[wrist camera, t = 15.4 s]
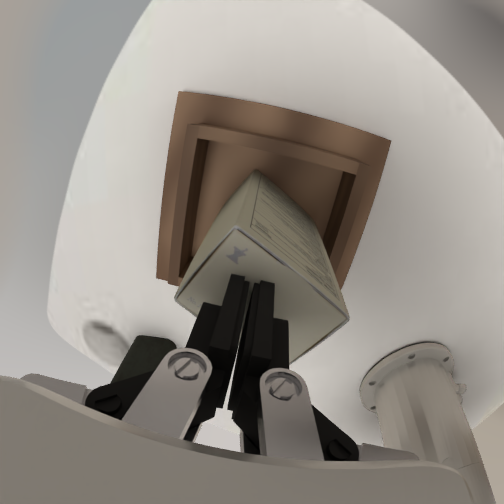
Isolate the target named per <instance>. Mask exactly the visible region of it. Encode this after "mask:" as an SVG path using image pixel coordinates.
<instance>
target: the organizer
mask: <svg viewBox="0 0 504 504" xmlns="http://www.w3.org/2000/svg"><path fill="white" fill-rule="evenodd" d="M390 144H391V141H390V140H388V139H385V138H382V137H380V136H377V135H374V134H371V133H368V132H365V131H362V130H359V129H356V128H353V127H350V126H347V125H344V124H340V123H337V122H334V121H330V120H327V119H323V118H320V117H316V116H312V115H309V114H305V113H301V112H297V111H293V110H288V109H284V108H280V107H275V106H271V105H266V104H261V103H256V102H251V101H245V100H240V99H234V98H228V97H221V96H214V95H207V94H199V93H191V92H182V91H179V92H178V97H177V103H176V108H175V113H174V119H173V125H172V131H171V137H170V144H169V150H168V157H167V164H166V172H165V180H164V188H163V197H162V207H161V217H160V228H159V241H158V255H157V273H156V278H158V279H162V280H166V281H168V284H171V285H175V286H180V284H181V282H182V280H183V278H184V276H185V274H186V272H187V270H188V268H189V266H190V264H191V262H192V260H193V258H194V256H195V255H196V253H197V251H198V249H199V247H200V245H201V243H202V241H203V240H204V238H205V236H206V234H207V232H208V230H209V229H210V227H211V225H212V223H213V222H214V220H215V218H216V216H217V215H218V213H219V211H220V209H221V208H222V206H223V205H224V204H225V203H226V201H227V200H228V199H229V198H230V196H231V195H232V194H233V193H234V192H235V191H236V189H237V188H238V187H239V186H240V185H241V184H242V183H243V181H244V180H245V179H246V178H247V177H248V176H249V175H250V174H251V173H252V172H253V171H254V170H255V169H256V170H258V171H259V172H261V173H262V174H263V175H264V176H265V177H267V178H268V179H269V180H270V181H272V182H273V183H274V184H275V185H276V186H278V187H279V188H280V189H281V190H282V191H283V192H284V193H285V194H287V195H288V196H289V197H290V198H291V199H292V200H293V201H294V202H296V203H297V204H298V205H299V206H300V207H301V208H302V209H303V210H304V211H305V212H306V213H307V214H308V215H309V216H310V217H311V218H312V219H313V220H314V221H315V224H316V226H317V229H318V232H319V234H320V237H321V239H322V242H323V244H324V247H325V250H326V252H327V255H328V257H329V260H330V263H331V266H332V268H333V271H334V274H335V277H336V279H337V282H338V285H339V288H340V290H341V289H342V286H343V284H344V281H345V279H346V276H347V274H348V271H349V269H350V266H351V263H352V261H353V258H354V256H355V253H356V250H357V247H358V245H359V242H360V239H361V236H362V234H363V231H364V228H365V225H366V222H367V219H368V216H369V213H370V210H371V207H372V204H373V201H374V198H375V195H376V192H377V189H378V185H379V182H380V179H381V175H382V172H383V169H384V165H385V162H386V158H387V155H388V151H389V147H390Z"/></svg>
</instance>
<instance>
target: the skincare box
mask: <svg viewBox="0 0 504 504" xmlns="http://www.w3.org/2000/svg"><path fill="white" fill-rule="evenodd" d="M231 273H232V274H236V275H240V276H245V281H250V284H249V290H248V295H247V301H246V306H245V312H244V317H243V323H242V328H241V333H242V329H243V326H244V322H245V318H246V314H247V310H248V306H249V302H250V298H251V294H252V290H253V286H254V283H259V284H260V281H261V280H263V281H267V282H272V283H275V295H274V318H279V319H284V320H288V323H289V365H290V364H292V363H293V362H294V361H296V360H297V359H299V358H300V357H302V356H303V355H305V354H306V353H308V352H309V351H310V350H312V349H313V348H315V347H316V346H317V345H319V344H320V343H321V342H323V341H324V340H325V339H327V338H328V337H329V336H331V335H332V334H333V333H334V332H336V331H337V330H338V329H340V328H341V327H342V326H343V325H345V324H346V323H347V322H348V321H349V313H348V310H347V308H346V305H345V302H344V299H343V296H342V293H341V290H340V288H339V285H338V282H337V279H336V277H335V274H334V271H333V268H332V266H331V263H330V260H329V257H328V255H327V252H326V250H325V247H324V244H323V242H322V239H321V237H320V234H319V232H318V229H317V226H316V224H315V221H314V220H313V219H312V218H311V217H310V216H309V215H308V214H307V213H306V212H305V211H304V210H303V209H302V208H301V207H300V206H299V205H298V204H297V203H296V202H294V201H293V200H292V199H291V198H290V197H289V196H288V195H287V194H285V193H284V192H283V191H282V190H281V189H280V188H279V187H278V186H276V185H275V184H274V183H273V182H272V181H270V180H269V179H268V178H267V177H265V176H264V175H263V174H262V173H261V172H259V171H258V170H256V169H255V170H254V171H253V172H252V173H251V174H250V175H249V176H248V177H247V178H246V179H245V180H244V181H243V183H242V184H241V185H240V186H239V187H238V188H237V189H236V191H235V192H234V193H233V194H232V195H231V196H230V198H229V199H228V200H227V201H226V203H225V204H224V205H223V206H222V208H221V209H220V211H219V213H218V215H217V216H216V218H215V220H214V222H213V223H212V225H211V227H210V229H209V230H208V232H207V234H206V236H205V238H204V240H203V241H202V243H201V245H200V247H199V249H198V251H197V253H196V255H195V256H194V258H193V260H192V262H191V264H190V266H189V268H188V270H187V272H186V274H185V276H184V278H183V280H182V282H181V284H180V286H179V288H178V290H177V292H176V294H175V297H174V299H175V301H176V302H177V303H178V304H179V305H181V306H182V307H184V308H185V309H186V310H187V311H189V312H190V313H191V314H193V315H194V316H195V317H197V316H198V314H199V311H200V309H201V306H202V304H203V302H207V303H211V304H215V305H219V306H222V302H223V299H224V296H225V292H226V289H227V286H228V283H229V279H230V276H231ZM240 338H241V334H240ZM239 342H240V339H239ZM238 345H239V344H238Z"/></svg>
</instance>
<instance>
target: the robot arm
mask: <svg viewBox="0 0 504 504" xmlns="http://www.w3.org/2000/svg"><path fill="white" fill-rule="evenodd" d="M249 284H250V281H245V276H240V275H236V274H232V273H231V276H230V279H229V283H228V286H227V289H226V292H225V296H224V299H223V302H222V306H219V305H215V304H211V303H207V302H203V304H202V306H201V309H200V311H199V314H198V316H197V319H196V321H195V324H194V327H193V329H192V332H191V334H190V337H189V340H188V342H187V345H186V347H185V348H179V349H175V350H173V351H171V352H169V353H168V354H167V355H166V356H165V357H164V358H163V360H162V361H161V363H160V364H159V366H158V367H157V369H156V370H153V371H150V372H147V373H144V374H140V375H137V376H134V377H131V378H128V379H124V380H121V381H118V382H114V383H111V384H108V385H104V386H100V387H98V388H96V389H94V390H90V389H87V387H86V386H85V385H80V384H76V383H71V382H67V381H62V380H58V379H54V378H50V377H47V376H42V375H39V374H28V375H25V376H24V377H22V378H21V379H17V378H12V377H6V376H0V504H496V502H495V499H494V496H493V493H492V489H491V486H490V483H489V480H488V477H487V474H486V471H485V468H484V464H483V461H482V458H481V455H480V453H479V450H478V447H477V444H476V441H475V439H474V436H473V433H472V431H471V428H470V426H469V423H468V421H467V418H466V416H465V413H464V411H463V409H462V406H461V403H462V396H461V395H460V394H463V393H465V391H466V385H465V384H455V382H454V380H453V378H452V376H451V375H452V372H453V368H454V360H453V357H452V355H451V353H450V352H449V350H448V349H447V348H446V347H445V346H443V345H440V344H437V343H421V344H416V345H412V346H409V347H406V348H403V349H401V350H399V351H397V352H395V353H393V354H391V355H389V356H388V357H386V358H385V359H383V360H382V361H381V362H379V363H378V364H377V365H376V366H375V367H374V368H373V369H372V370H371V371H370V372H369V373H368V374H367V375H366V377H365V378H364V380H363V382H362V384H361V388H360V397H361V401H362V404H363V405H364V407H365V408H366V409H368V410H369V411H372V412H374V413H377V415H378V420H379V424H380V429H381V434H382V439H383V443H384V447H380V446H375V445H370V444H365V443H363V444H362V445H356V443H355V442H354V441H353V440H352V439H351V438H350V437H349V436H348V435H347V434H345V433H344V432H343V431H342V430H341V429H339V428H338V427H337V426H336V425H335V424H334V423H332V422H331V421H330V420H329V419H328V418H327V417H325V416H324V415H323V414H322V413H321V412H320V411H318V410H317V409H316V408H315V407H314V406H313V405H312V404H311V401H310V397H309V392H308V388H307V385H306V383H305V381H304V380H303V378H302V377H301V376H300V375H298V374H297V373H296V372H294V371H291V370H289V323H288V320H284V319H279V318H274V295H275V283H272V282H267V281H263V280H261V281H260V284H259V283H254V286H253V290H252V294H251V298H250V302H249V306H248V310H247V314H246V318H245V322H244V326H243V329H242V333H241V328H242V323H243V317H244V312H245V306H246V301H247V295H248V290H249ZM240 334H241V338H240ZM239 339H240V342H239ZM238 344H239V348H238ZM237 349H238V353H237ZM236 354H237V359H236V364H235V370H234V375H233V381H232V386H231V391H230V397H229V402H228V408H227V410H231V411H233V413H232V419H234V420H233V421H234V422H235V423H236V424H237V425H238V427H239V428H240V429H241V430H240V447H241V452H236V451H230V450H225V449H220V448H215V447H210V446H205V445H202V444H197V443H194V442H195V440H196V437H197V435H198V433H199V431H200V429H201V426H202V422H204V421H206V420H209V419H211V418H213V417H214V416H215V411H216V407H217V408H223V404H224V401H225V397H226V393H227V389H228V385H229V381H230V378H231V374H232V370H233V366H234V362H235V358H236Z"/></svg>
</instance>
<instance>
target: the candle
mask: <svg viewBox="0 0 504 504" xmlns="http://www.w3.org/2000/svg"><path fill="white" fill-rule="evenodd" d="M175 349H177V348H176V345H175V344H174V343H173V342H172V341H170V340H168V339H164V338H156V337H148V336H138V337H136V339H135V340H134V342H133V344H132V346H131V347H130V349H129V351H128V353H127V354H126V356H125V358H124V360H123V361H122V363H121V365H120V367H119V369H118V370H117V372H116V374H115V376H114V378H113V379H112V381H111V383H114V382H118V381H121V380H124V379H128V378H131V377H134V376H137V375H140V374H144V373H147V372H150V371H153V370H156V369H157V367H158V366H159V364H160V363H161V361H162V360H163V358H164V357H165V356H166V355H167V354H168V353H169V352H171V351H173V350H175ZM111 383H110V384H111Z"/></svg>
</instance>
